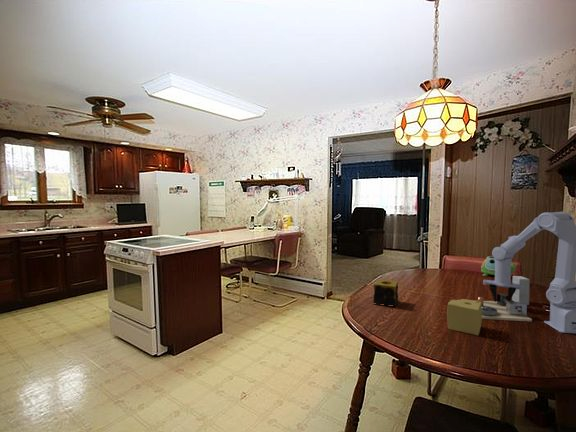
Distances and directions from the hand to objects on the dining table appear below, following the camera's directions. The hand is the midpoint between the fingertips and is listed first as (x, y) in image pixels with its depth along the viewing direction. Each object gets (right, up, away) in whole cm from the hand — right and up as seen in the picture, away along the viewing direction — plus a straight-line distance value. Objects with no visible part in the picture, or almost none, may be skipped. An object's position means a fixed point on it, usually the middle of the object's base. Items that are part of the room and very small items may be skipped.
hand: (502, 302), depth 131 cm
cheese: (-30, -4, -20) cm, 36 cm away
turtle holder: (+34, +1, +51) cm, 62 cm away
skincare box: (+12, -2, +5) cm, 13 cm away
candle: (-50, -3, +8) cm, 51 cm away
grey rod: (-1, -1, -5) cm, 5 cm away
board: (-8, -2, -4) cm, 9 cm away
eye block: (-2, -3, -11) cm, 11 cm away
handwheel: (-14, -1, -8) cm, 16 cm away
